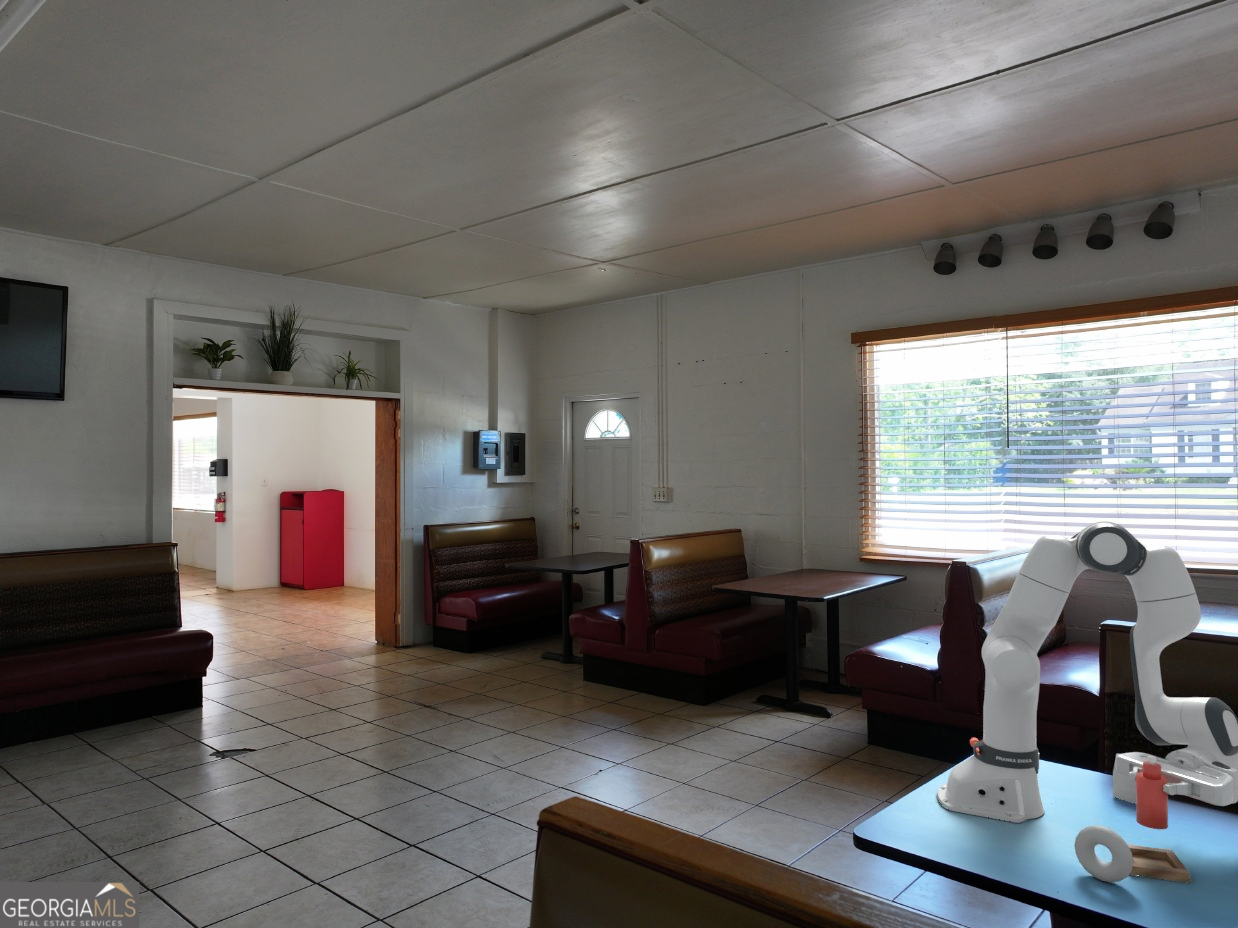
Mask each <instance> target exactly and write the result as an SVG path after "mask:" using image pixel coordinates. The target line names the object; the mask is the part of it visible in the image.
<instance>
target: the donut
mask: <svg viewBox="0 0 1238 928" xmlns="http://www.w3.org/2000/svg"><path fill="white" fill-rule="evenodd" d="M1098 845H1101V846H1103V847H1105V848H1107V849H1108V850H1109V852H1110V854H1111V861H1109V862H1104V861H1103V860H1102V859H1100V858H1099V857H1098V855H1097V854H1096V852H1095V848H1096V846H1098ZM1128 845H1129V844H1128V843H1127V841H1125V840H1124V838H1123V837H1122V836H1121V835H1120V834H1118V833H1117V832H1116V831H1115V830H1112V829H1111V828H1109V827H1106V826H1102V825H1097V824H1095V825H1088V826H1086V827H1083V828H1082V829H1081V830H1080V831H1079V832H1078V834H1077V835H1076V837H1075V840H1074V851H1075V855H1076V858H1077V860H1078V863H1080V865H1081V866H1082V867H1083V869H1084V870H1085V871H1086V872H1087V873H1088V874H1090V875H1091V876H1092V877H1094V878H1096V879H1098V880H1100V881H1102V882H1106V883H1111V884H1112V883H1118V882H1122V881H1123V880H1125V879H1127V878H1128V876H1130V875H1129V874H1130V872H1131V871H1132V867H1133V857H1132V853H1131V851H1130V849H1129V846H1128Z"/></svg>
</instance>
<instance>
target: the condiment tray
mask: <svg viewBox="0 0 1238 928" xmlns="http://www.w3.org/2000/svg"><path fill="white" fill-rule="evenodd" d="M1128 846H1129V849H1130V851H1131V853H1132V857H1133V867H1132V871H1131V872H1130V874H1129V875H1128V876H1132V875H1139V876H1143V877H1142V878H1147V877H1151V878H1150V879H1154V878H1155V879H1156V880H1162V879H1166V880H1165V881H1170V880H1172V881H1171V882H1177V881H1179V883H1185V882H1188V883H1187V884H1191V873H1190V872H1189V870H1188V869H1187V868H1186V866H1185V865H1184V864H1183V862H1182V861H1181V860H1180V859H1179V857H1178V856H1177V855H1176V852H1175V851H1173V849H1168V848H1167V849H1165V848H1159V847H1151V846H1149V847H1148V846H1142V845H1134V844H1128ZM1139 876H1138V877H1139Z"/></svg>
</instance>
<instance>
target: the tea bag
mask: <svg viewBox="0 0 1238 928" xmlns="http://www.w3.org/2000/svg"><path fill="white" fill-rule="evenodd" d="M1119 754H1120V753H1116V754H1115V757H1116V756H1117V755H1119ZM1113 797H1116V798H1120V799H1122V800H1121V801H1123V800H1126V801H1128V802H1127V803H1130V802H1133V803H1135V804H1134V805H1136V783H1134V782H1131V781H1129V776H1126V775H1123V774H1120V773H1118V772H1117V770H1116V758H1115V760H1114V765H1113V769H1112V798H1113ZM1116 798H1115V799H1116ZM1120 799H1119V800H1120ZM1126 801H1125V802H1126ZM1133 803H1132V804H1133Z"/></svg>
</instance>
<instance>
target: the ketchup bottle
mask: <svg viewBox="0 0 1238 928" xmlns="http://www.w3.org/2000/svg"><path fill="white" fill-rule="evenodd" d="M1151 755H1152V754H1150V755H1148V762H1143V772H1140V773H1137V774H1136V804H1135V807H1136V808H1135V812H1136V814H1135V815H1136V817H1135V819H1136V820H1135V821H1136V823H1137V824H1139V825H1141V826H1143V827H1145V828H1147V829H1148V828H1149V829H1153V830H1166V829H1168V828H1169V794H1166V793H1164V792H1163V789H1164V788H1163V784H1164V783H1168V779H1167V778H1166V777H1164V776H1162V775H1161V765H1160V764H1158V763H1156V757H1157V756H1156V755H1153V756H1151ZM1155 756H1156V757H1155Z"/></svg>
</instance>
